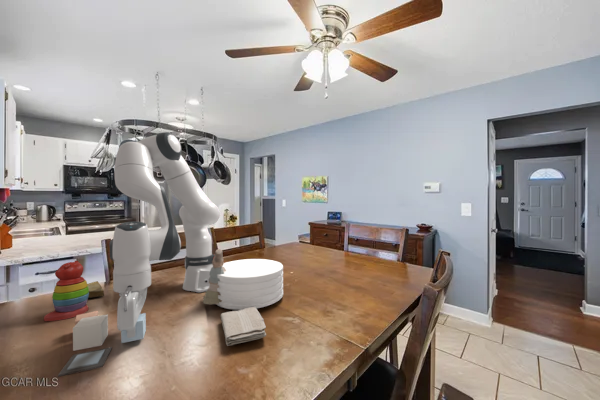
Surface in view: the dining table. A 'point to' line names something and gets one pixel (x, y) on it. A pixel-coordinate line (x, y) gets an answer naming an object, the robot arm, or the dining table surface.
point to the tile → (85, 361)
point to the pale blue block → (140, 330)
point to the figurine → (214, 279)
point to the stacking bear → (69, 293)
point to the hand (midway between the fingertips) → (133, 330)
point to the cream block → (90, 332)
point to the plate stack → (250, 283)
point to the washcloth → (242, 326)
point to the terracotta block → (85, 316)
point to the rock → (95, 289)
